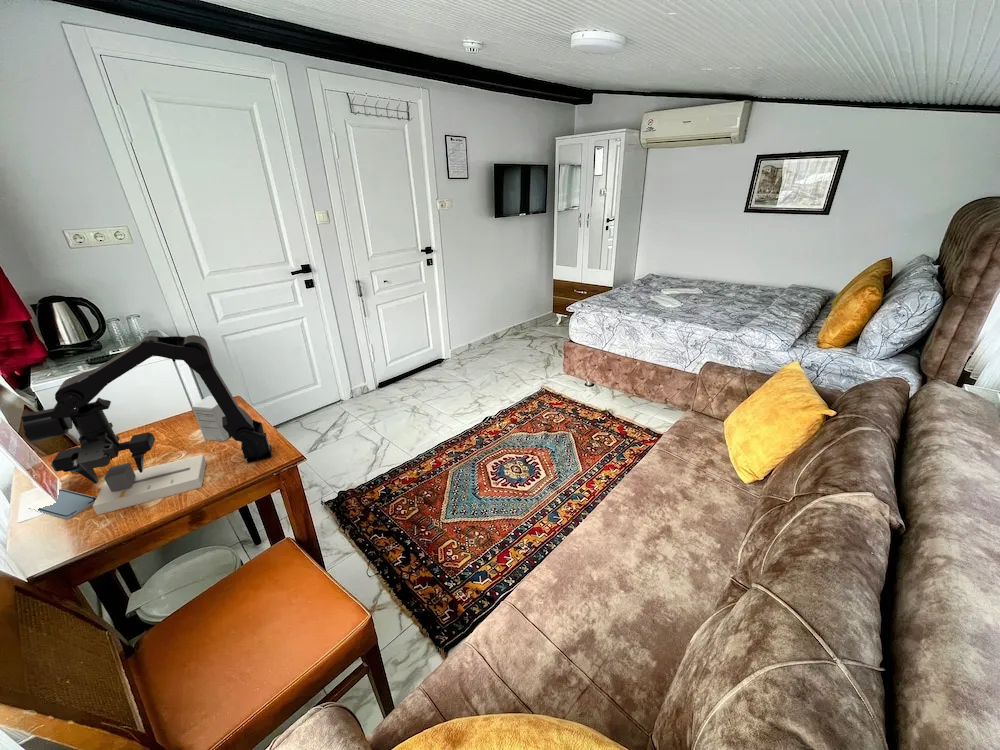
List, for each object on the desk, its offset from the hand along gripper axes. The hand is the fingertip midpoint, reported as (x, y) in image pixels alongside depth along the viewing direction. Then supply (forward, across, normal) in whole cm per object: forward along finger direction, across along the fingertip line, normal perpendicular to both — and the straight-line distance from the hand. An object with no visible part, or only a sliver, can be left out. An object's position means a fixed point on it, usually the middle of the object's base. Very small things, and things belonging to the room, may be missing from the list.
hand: (119, 477), depth 107 cm
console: (+6, +6, 0) cm, 8 cm away
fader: (+2, 0, 0) cm, 2 cm away
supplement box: (+6, +20, +21) cm, 30 cm away
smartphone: (+6, -14, +3) cm, 16 cm away
